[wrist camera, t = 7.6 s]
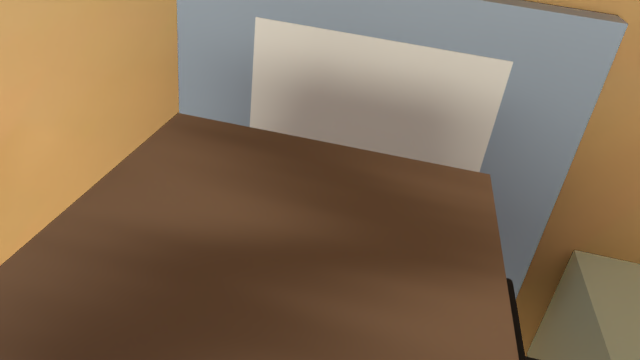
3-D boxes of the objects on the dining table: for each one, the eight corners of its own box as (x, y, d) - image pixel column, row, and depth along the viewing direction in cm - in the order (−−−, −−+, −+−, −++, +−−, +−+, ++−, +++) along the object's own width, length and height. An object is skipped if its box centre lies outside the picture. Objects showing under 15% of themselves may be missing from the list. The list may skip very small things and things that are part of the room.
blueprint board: (617, 15, 14) (628, 24, 13) (506, 296, 19) (509, 316, 18) (190, -53, 16) (174, -49, 15) (193, 224, 21) (181, 240, 20)
